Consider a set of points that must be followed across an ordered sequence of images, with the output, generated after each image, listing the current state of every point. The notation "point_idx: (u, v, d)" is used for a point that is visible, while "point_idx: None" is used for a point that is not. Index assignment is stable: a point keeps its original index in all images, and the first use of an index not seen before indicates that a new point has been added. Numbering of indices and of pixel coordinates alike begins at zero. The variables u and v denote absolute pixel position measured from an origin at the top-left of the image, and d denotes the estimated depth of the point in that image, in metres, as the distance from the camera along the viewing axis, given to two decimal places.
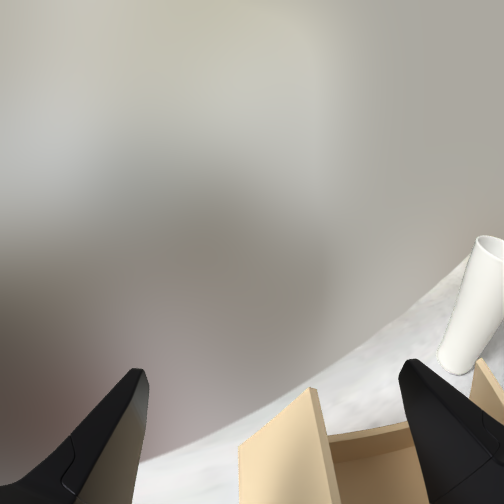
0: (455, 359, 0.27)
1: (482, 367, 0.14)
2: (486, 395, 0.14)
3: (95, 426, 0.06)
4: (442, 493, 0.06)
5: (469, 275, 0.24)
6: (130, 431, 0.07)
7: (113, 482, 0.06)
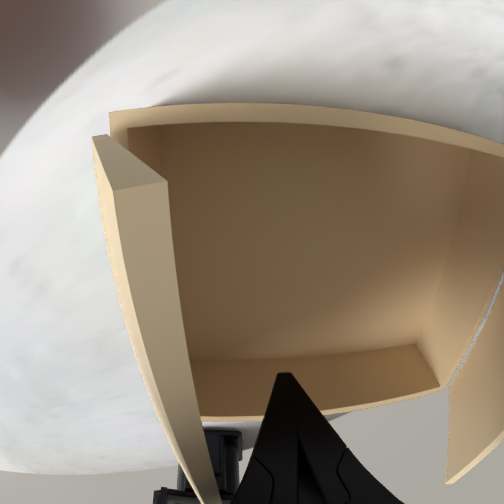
0: None
1: None
2: None
3: (273, 440, 0.07)
4: None
5: None
6: None
7: None
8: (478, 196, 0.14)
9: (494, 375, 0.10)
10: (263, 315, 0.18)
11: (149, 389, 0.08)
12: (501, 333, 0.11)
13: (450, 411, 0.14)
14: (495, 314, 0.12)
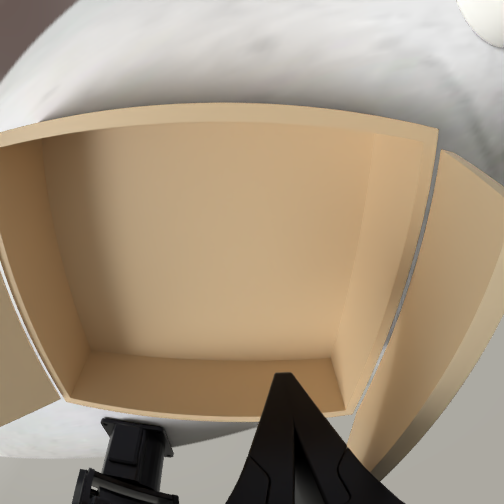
0: (485, 14, 0.08)
1: None
2: (455, 281, 0.05)
3: (269, 439, 0.07)
4: None
5: None
6: None
7: None
8: (379, 189, 0.13)
9: (372, 415, 0.10)
10: (146, 312, 0.18)
11: None
12: (389, 363, 0.11)
13: (349, 441, 0.14)
14: (393, 337, 0.12)
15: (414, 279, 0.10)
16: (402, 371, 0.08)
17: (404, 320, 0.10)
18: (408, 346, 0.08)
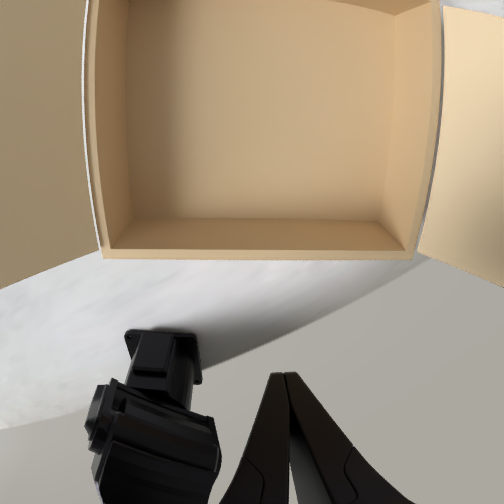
0: None
1: None
2: None
3: (265, 440, 0.07)
4: None
5: None
6: None
7: None
8: (405, 49, 0.14)
9: (503, 183, 0.11)
10: (205, 159, 0.18)
11: None
12: (480, 148, 0.12)
13: (449, 264, 0.15)
14: (452, 140, 0.13)
15: (457, 87, 0.11)
16: None
17: (472, 114, 0.11)
18: None
